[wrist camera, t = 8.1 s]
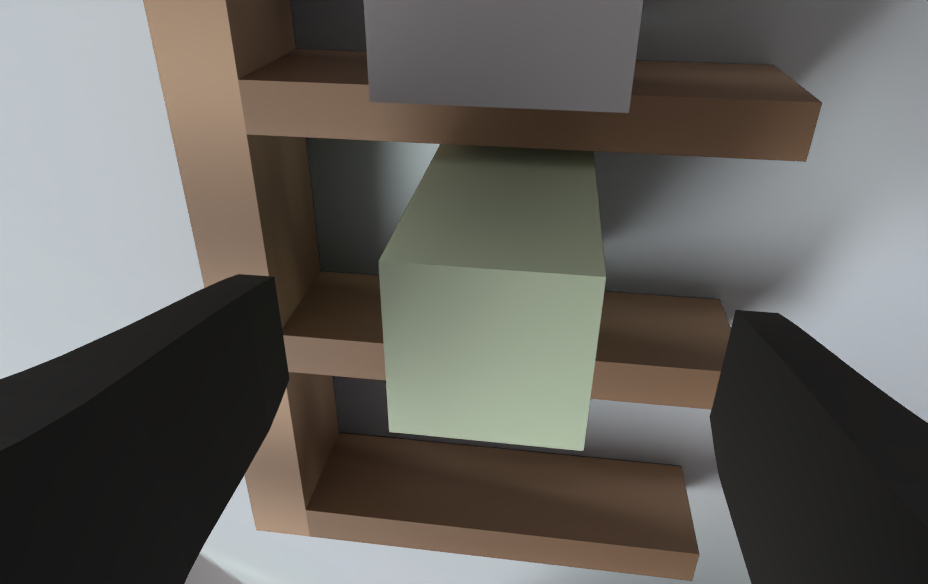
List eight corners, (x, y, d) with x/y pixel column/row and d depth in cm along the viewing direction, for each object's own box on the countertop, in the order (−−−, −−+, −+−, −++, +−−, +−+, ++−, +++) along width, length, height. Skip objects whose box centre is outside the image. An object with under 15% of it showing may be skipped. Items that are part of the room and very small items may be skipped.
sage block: (577, 247, 16) (583, 451, 10) (454, 239, 16) (388, 431, 10) (590, 124, 15) (606, 277, 9) (454, 118, 15) (378, 261, 9)
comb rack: (675, 491, 20) (692, 581, 17) (294, 452, 21) (256, 530, 18) (854, -290, 11) (945, -350, 8) (178, -275, 12) (74, -323, 10)
